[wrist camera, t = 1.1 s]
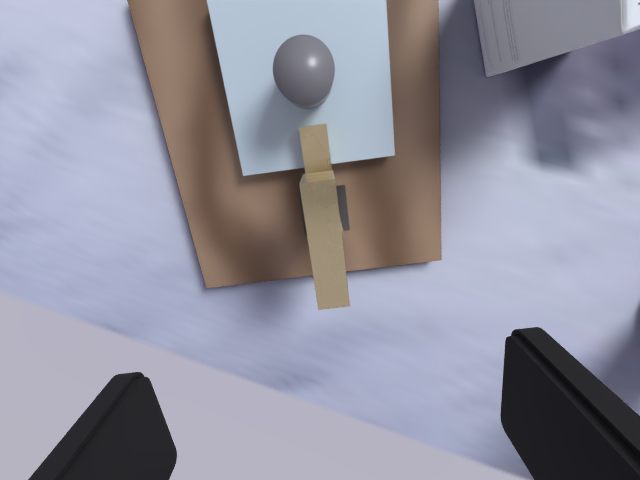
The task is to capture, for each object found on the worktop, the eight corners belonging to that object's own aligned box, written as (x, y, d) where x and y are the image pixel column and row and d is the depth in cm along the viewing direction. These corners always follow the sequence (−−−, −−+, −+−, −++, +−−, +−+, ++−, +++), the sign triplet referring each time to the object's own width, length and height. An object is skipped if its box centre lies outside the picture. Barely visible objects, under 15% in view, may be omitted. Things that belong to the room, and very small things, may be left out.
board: (430, -55, 23) (437, -68, 22) (435, 254, 31) (441, 260, 30) (135, -7, 24) (122, -16, 23) (211, 281, 32) (206, 288, 30)
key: (328, 123, 26) (332, 120, 17) (343, 252, 29) (353, 305, 20) (298, 127, 26) (286, 127, 17) (317, 255, 29) (315, 310, 20)
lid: (380, -22, 23) (402, -77, 17) (390, 154, 27) (412, 161, 20) (213, 5, 23) (174, -40, 17) (247, 173, 27) (225, 186, 21)
